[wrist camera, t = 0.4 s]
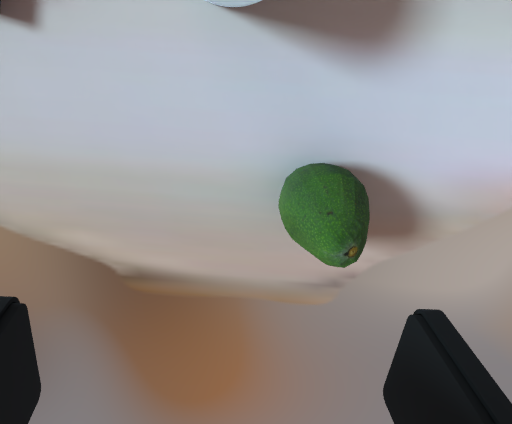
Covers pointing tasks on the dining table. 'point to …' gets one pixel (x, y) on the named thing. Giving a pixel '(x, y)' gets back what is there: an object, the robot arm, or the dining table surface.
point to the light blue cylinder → (232, 2)
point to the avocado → (326, 212)
